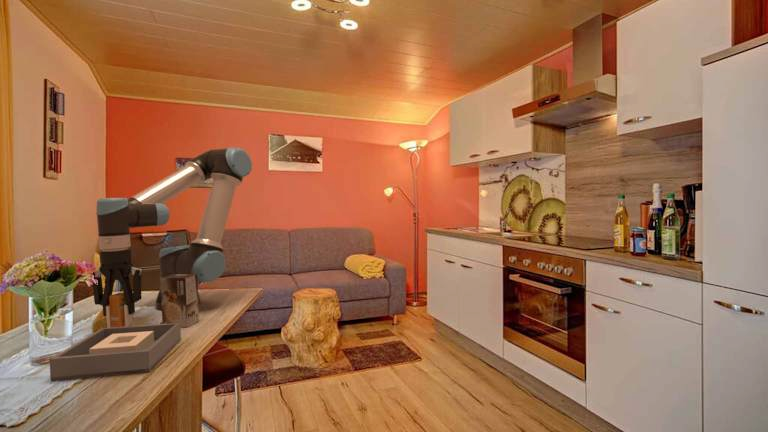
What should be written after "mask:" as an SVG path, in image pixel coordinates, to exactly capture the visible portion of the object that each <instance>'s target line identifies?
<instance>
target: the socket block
mask: <svg viewBox="0 0 768 432" xmlns="http://www.w3.org/2000/svg"><path fill="white" fill-rule="evenodd" d="M153 343H154V331H146V332H132V333H118V334H112V335H110V336H108V337H107V338H105V339H104V340H102V341H101V342H99V343H98V344H96V345H95V346H93V347H92V348H90V349H89V354H101V353H114V352H126V351H138V350H147V349H148V348H149V347H150V346H151V345H152V344H153Z"/></svg>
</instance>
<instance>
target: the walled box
mask: <svg viewBox="0 0 768 432" xmlns="http://www.w3.org/2000/svg"><path fill="white" fill-rule="evenodd" d="M181 328H182V327H180V323H170V324H162V323H158V324H146V325H145V324H142V325H129V326H126V327H111V328H107V327H102V328H99V329H98V330H97V331H95V332H94V333H93V332H92V333H91V334H90V335H88V336H87V337H85V338H82V340H80V341H78V342H76V343H75V344H73V345H72V346H69V347H68V348H67V349H64V350H63V351H61V352H59V353H58V354H56V355H55V356H53V357H51V358H49V371H50V372H49V373H50V374H49V375H50V382H55V381H56V380H58V381H66V380H68V379H69V380H76V379H75V378H80V379H88V378H90V379H91V378H100V377H101V378H102V377H111V376H113V377H114V376H120V375H121V376H123V375H132V374H133V375H134V374H143V373H144V374H145V373H150V372H152V371H153V369H154V368H155V367H156V366H157V365H158V364H159V363H160V362H161V361H162V360H163V359H164V358H165V357H166V356H167V355H168V354H169V352H170V351H171V350H173V349H174V347H175V346H176V345H177V344H178V343H179V342H181V340H182V337H181V335H182V334H181V332H182V331H181V330H182V329H181ZM146 331H154V343H153V344H152V345H151V346H150V347H149V348H148V349H147V350H138V351H126V352H114V353H101V354H89V349H90V348H92V347H93V346H95V345H96V344H98V343H99V342H101V341H102V340H104V339H105V338H107V337H108V336H110V335H112V334H118V333H132V332H146Z"/></svg>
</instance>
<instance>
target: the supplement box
mask: <svg viewBox="0 0 768 432" xmlns="http://www.w3.org/2000/svg"><path fill="white" fill-rule="evenodd" d="M109 301H110V315H111V327H125V314H124V305H126V303H127V302H126V299H125V296H124V293H123V292H118V293H114V294H112V295H110V296H109Z"/></svg>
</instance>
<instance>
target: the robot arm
mask: <svg viewBox="0 0 768 432" xmlns="http://www.w3.org/2000/svg"><path fill="white" fill-rule="evenodd" d="M252 166H253V163H252V159H251V158H250V155H249V153H248V152H247V151H245V150H244V149H243V148H240V147H228V148H217V149H216V148H215V149H210V150H207V151H205V152H203V153H201V154H199V155H197V156H195V157H194V158H192V159H190V160H189V161H187V162H185V164H184V166H183V167H182V168H180V169H178V170H177V171H175V172H172V173H171V174H169V175H168V176H165V177H164V178H162V179H161V180H159V181H157V182H155V183H154V184H152V185H150V186H148V187H147V188H145V189H143V190H141V191H140V192H138V193H136V194H134V195H133V196H131V197H129V198H127V197H103V198H99V199H97V201H96V213H95V214H96V221H97V234H98V235H97V236H98V249H99V250H100V252H99V263H100V266H99V269H97V270H95V271H96V272H93V271H92V272H93V275H94V279H97V280H98V285H96V284H97V283H96V284H94V283H93V282H92V281H91V282H92V289H93V290H92V291H93V293H92V294H93V300H94V301H93V302H94V304H95V305H97V306H98V305H99V306H102V314H103V317H105V318H106V326H107V327H106V328H111V315H110V301H109V296H110V295H113V292H114V286H115V285H114V284H115V282H116V281H118V283H119V284H120V286H121V289H122V293H124V296H125V299H126V302H127V303H126V305H124V314H125V327H126V326H132V325H133V323H134V322H133V315H134V314H135V311H136V308H135V307H136V305H135V304H136V303H137V302H139V301H141V300H142V298H143V297H142V274H143V272H144V269H143V268H142V267H141V268H138V267H135V266H134V265H133V263H132V249H131V248H130V247H132V246H131V234H130V233H131V231H130V229H134V228H146V227H147V228H149V227H159V226H164V225H166V224H168V222H169V220H170V210H169V207H168V206H167V205H166V204H165V203H167V202H169V201H171V200H172V199H173V198H175V197H177V196H178V195H180V194H181V193H183V192H184V191H186V190H187V189H189V188H191V187H193V186H194V185H196V184H197V183H198V184H202V183H203V182H205V181H207V180H211V179H212V181H213V182H212V185H211V188H210V191H209V194H208V198H207V201H206V205H205V208H204V210H203V211H204V212H203V216H202V219H201V222H200V225H199V229H198V232H197V235H196V238H195V239H194V240H192V241H190V243H189V244H188V245H187V244H186V245H180V246H172V247H164V248H161V249H160V250H159V253H158V254H159V255H158V261H159V285H160V287H159V290H158V293H157V296H156V298H155V309H156V310H159V311H162V302H161V280H160V278H162V277H165V276H168V275H171V274H197V283H199V282H200V283H211V282H215V281H216V280H217V279H219V278H220V277H221V276H223V274H224V271H225V270H226V266H227V259H226V256H225V254H224V253H223V252H224V247H223V246H222V243H221V242H222V240H223V236H224V232H225V229H226V225H227V222H228V218H229V215H230V211H231V207H232V205H233V204H232V203H233V200H234V195H235V193H236V189H237V187H238V186H241V185H242V182H243V178H244V177H248V175H250V173H251V171H252V169H253V167H252ZM95 273H97V274H98V275H97V274H95ZM130 274H131V275H132V286H131V282H130V276H129V275H130ZM102 276H104V288H103V279H102ZM200 303H201V295H200V293H199V292H198V305H199V304H200Z"/></svg>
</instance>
